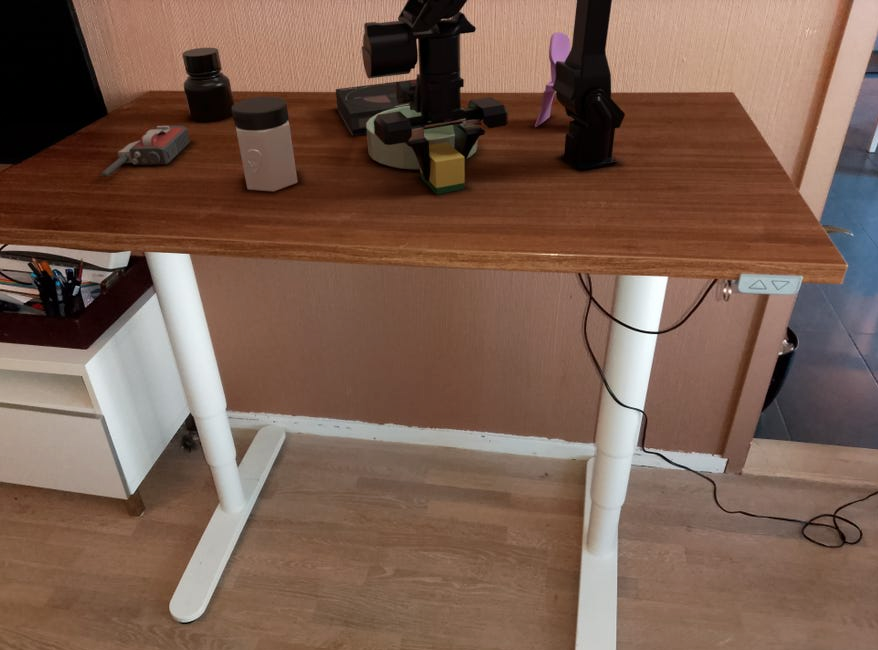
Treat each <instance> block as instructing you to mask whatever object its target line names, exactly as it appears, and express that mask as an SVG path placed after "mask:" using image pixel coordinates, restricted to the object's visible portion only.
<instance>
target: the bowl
mask: <svg viewBox="0 0 878 650" xmlns="http://www.w3.org/2000/svg"><path fill="white" fill-rule="evenodd" d="M461 108H462V109H464V108H463V107H461ZM398 111H400V112H401V113H402V114H403V115H404V116H406V117H407V118H410V117H417V116H421V113H417V112H416V111H415V110H410V106H404V107H398V108H394V109H390V110H386V111H383V112H381V113H378V114H376V115H375V116H373V117H371V118H370V119H369V120H368V122H367V123H366V128H367V134H366V141H367V153H368V156H369V157H370V158H371V159H372V160H373V161H375V162H377V163H379V164H381V165H384V166H388V167H392V168H396V169H403V170H420V165H419V162H418V160H417V157H416V155H415V153H414V151H413V149H412V147H409V146H408V145H407V144H406V143H399V144H393V145H385V144H384V143H383V142H382V141H381V140H380V139H379V138H378V137H377V136H376V135H375V133H374V120H375V118H376V116H377V115H379V114H385V113H392V112H398ZM428 122H429V121H428ZM430 122H431V121H430ZM424 137H425V138H426V139H427V140H428V141H429V145H433V144H439V143H444V142H448V143H449V144H450V145H451V146H452V147H453V148H454V145H455V134H454V129H453V125H449V126H443V127H437V128H431V129H424ZM478 146H479V138H478V139H477V141H476V143H475V144H474V146H473V148H472V149H471V151H470V153H469V155H468V157H467V159H469V158H471V157H472V156H473V155H474V154H475V153H476V152H477V150H478Z"/></svg>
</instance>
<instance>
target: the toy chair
mask: <svg viewBox="0 0 878 650" xmlns="http://www.w3.org/2000/svg"><path fill="white" fill-rule="evenodd" d="M570 51H571V40H570V38H569V36H568V35H567V34H565V33H564V32H560V31H557V32H555V33H552V34H551V36H550V40H549V49H548V59H549V63H550V79H551V81H549V82H548V83H546V84H545V89H544V90H543V93H542V96H541V104H540V105H541V106H540V110H539V114H538V116H537V119H536V122H535V124H534V128H538V127H539V126H540V125H542V124H543V123H544V122H545V121H547V120H548V119H550V117H551V109H552V104H553V101H554V97H555V94H556V91H555V90H554V89H552V87H553V85H554V82H555V78H556V71H555V65H556V62H557V61H561V62H565V60H566V58H567V57H568V55H569V53H570Z"/></svg>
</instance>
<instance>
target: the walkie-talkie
mask: <svg viewBox="0 0 878 650" xmlns="http://www.w3.org/2000/svg"><path fill="white" fill-rule="evenodd" d="M190 143H191V141H190V136H189V132H188V129H187V127H185V126H184V125H157V126H156V128H154V129H149V130H148V131H146V132H145V133H144V134H143V135H142V136H141V138H140V140H136V141H134V142H130V143H128V144H127V145H125V147H123V148H122V149H120V150H119V151H117V155H118V158H117V159H116V160H115V161H114V162H113V163H111V164H110V165H109V166H108V167H106V169H104V170H103V171H102V172H101V175H102V177H104V178H108V177H109V176H110V175H111V174H113V173H114V172H115V171H116V170H118V168H121V166H122V165H124V164H132V165H135V166H165V165H168V164H169V163H170V162H171V161H172V160H173V159H174V158H176V156H178V155H179V154H180V153H181V152H182V151H183V150H184V149H185V148H186V147H187V146H188V145H189V144H190Z"/></svg>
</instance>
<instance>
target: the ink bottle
mask: <svg viewBox="0 0 878 650" xmlns="http://www.w3.org/2000/svg"><path fill="white" fill-rule="evenodd" d="M181 55H182V59H183V64H184V69H185V73H186V75H188V76H187V78H186V79H185V80H184V82H183V91H184V96H185V99H186V104H187V109H188V113H189V117H190V118H191V119H193V120H195V121H200V122H215V121H219V120H223V119H226V118H228V117H231V116H233V113H232V106H233V105H234V104H235V102H234V96H233V90H232V85H231V80H230V78H229V77H228V76H227V75H226V74H224V73H223V72H221V71H222V69H223V68H222V63H221V57H220V53H219V49H218V48H215V47H197V48H191V49H188V50H185V51H183V52H182V53H181Z"/></svg>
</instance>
